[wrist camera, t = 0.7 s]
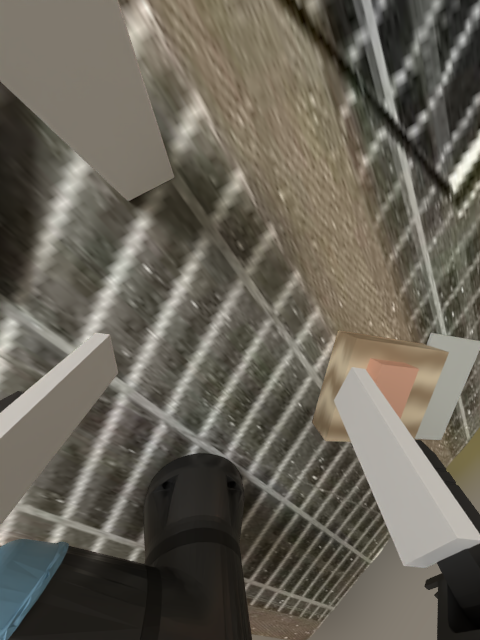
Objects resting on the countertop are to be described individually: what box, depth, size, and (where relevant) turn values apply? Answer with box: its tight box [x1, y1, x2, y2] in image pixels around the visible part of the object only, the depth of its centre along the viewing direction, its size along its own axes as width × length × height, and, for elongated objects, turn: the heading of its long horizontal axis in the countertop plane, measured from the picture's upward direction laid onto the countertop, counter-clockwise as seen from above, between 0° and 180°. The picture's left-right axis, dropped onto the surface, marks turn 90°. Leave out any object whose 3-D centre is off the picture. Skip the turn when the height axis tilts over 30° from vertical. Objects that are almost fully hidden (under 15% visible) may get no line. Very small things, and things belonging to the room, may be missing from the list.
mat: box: [415, 333, 480, 440], centre depth 37 cm, size 20×11×1 cm, turn 169°
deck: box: [312, 330, 449, 442], centre depth 33 cm, size 16×16×4 cm
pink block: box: [366, 358, 419, 419], centre depth 29 cm, size 9×6×2 cm, turn 169°
